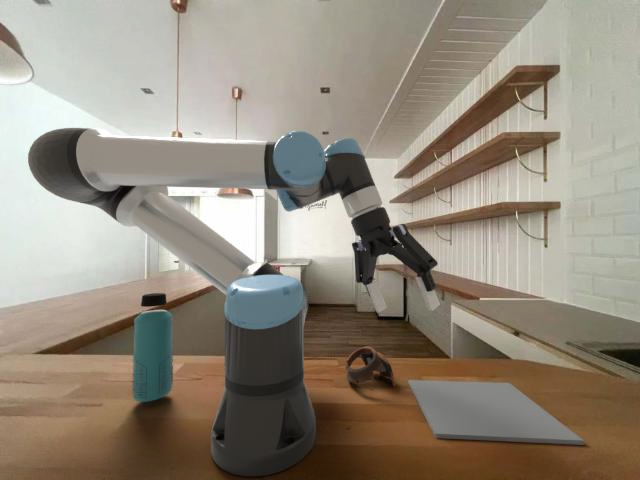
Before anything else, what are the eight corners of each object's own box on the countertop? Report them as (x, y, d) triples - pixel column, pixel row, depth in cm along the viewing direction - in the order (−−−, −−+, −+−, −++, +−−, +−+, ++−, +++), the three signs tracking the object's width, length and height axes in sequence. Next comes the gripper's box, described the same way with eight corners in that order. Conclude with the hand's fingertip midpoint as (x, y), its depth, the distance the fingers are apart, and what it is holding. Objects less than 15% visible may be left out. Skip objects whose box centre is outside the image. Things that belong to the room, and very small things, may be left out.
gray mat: (435, 437, 39) (435, 433, 39) (408, 383, 56) (408, 380, 56) (583, 444, 38) (583, 440, 38) (509, 386, 54) (509, 383, 54)
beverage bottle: (177, 400, 50) (179, 292, 52) (136, 416, 46) (139, 297, 47) (166, 389, 55) (168, 290, 56) (126, 402, 50) (129, 293, 51)
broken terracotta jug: (403, 397, 52) (384, 363, 51) (359, 415, 53) (340, 382, 52) (391, 357, 64) (375, 329, 62) (355, 373, 65) (339, 345, 64)
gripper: (427, 184, 48) (474, 297, 47) (344, 225, 68) (376, 304, 67) (401, 192, 43) (452, 316, 42) (321, 233, 64) (354, 317, 63)
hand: (405, 309), depth 55 cm, fingers open, 13 cm apart
